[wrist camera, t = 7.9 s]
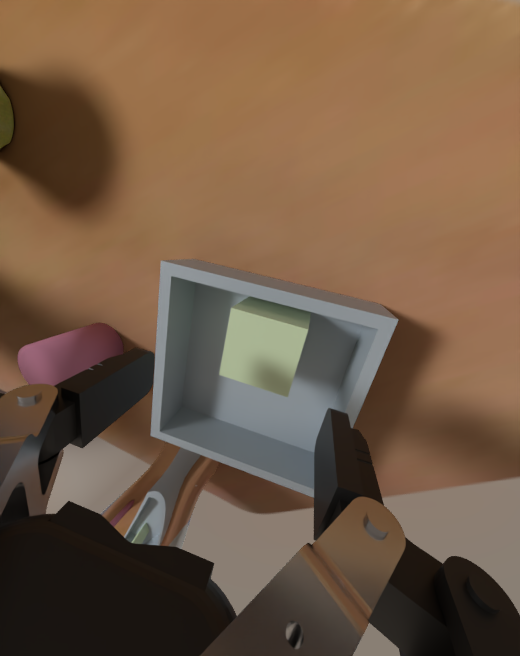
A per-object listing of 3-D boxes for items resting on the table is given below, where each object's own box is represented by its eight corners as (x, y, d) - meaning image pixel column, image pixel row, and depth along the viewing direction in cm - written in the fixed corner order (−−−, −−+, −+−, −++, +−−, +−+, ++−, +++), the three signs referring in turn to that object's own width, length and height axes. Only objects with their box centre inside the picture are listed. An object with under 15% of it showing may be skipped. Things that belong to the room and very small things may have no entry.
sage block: (251, 294, 18) (231, 307, 14) (311, 310, 18) (308, 329, 13) (240, 348, 20) (218, 374, 16) (294, 365, 19) (287, 397, 15)
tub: (178, 405, 24) (150, 435, 20) (193, 258, 19) (160, 260, 15) (321, 455, 22) (321, 500, 18) (380, 304, 17) (398, 319, 13)
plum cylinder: (87, 356, 25) (21, 386, 20) (85, 317, 24) (13, 337, 18) (123, 368, 25) (65, 402, 19) (123, 329, 23) (61, 353, 18)
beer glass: (182, 480, 28) (42, 715, 14) (153, 431, 26) (-35, 632, 12) (234, 473, 25) (130, 744, 11) (206, 418, 24) (48, 647, 10)
